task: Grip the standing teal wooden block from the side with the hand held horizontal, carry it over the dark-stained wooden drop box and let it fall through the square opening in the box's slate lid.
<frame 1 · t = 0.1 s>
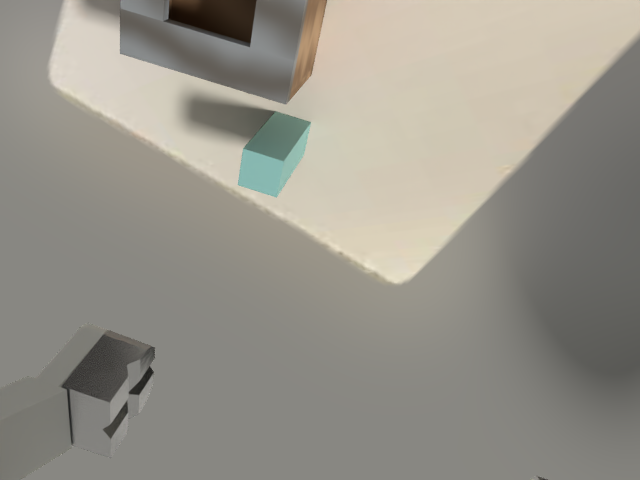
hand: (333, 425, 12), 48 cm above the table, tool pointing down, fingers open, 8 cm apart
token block: (289, 133, 62), on the table
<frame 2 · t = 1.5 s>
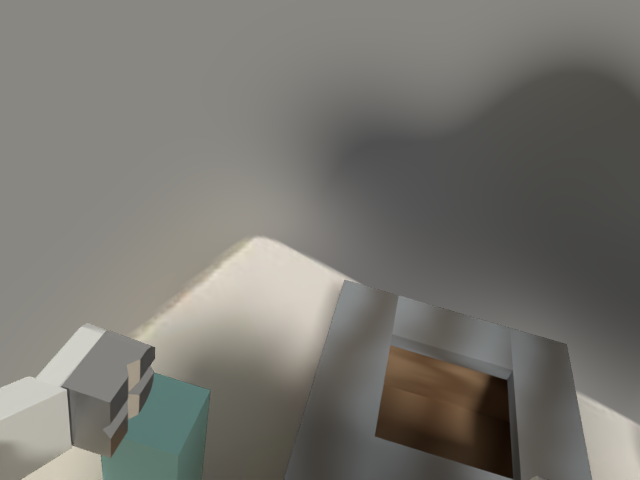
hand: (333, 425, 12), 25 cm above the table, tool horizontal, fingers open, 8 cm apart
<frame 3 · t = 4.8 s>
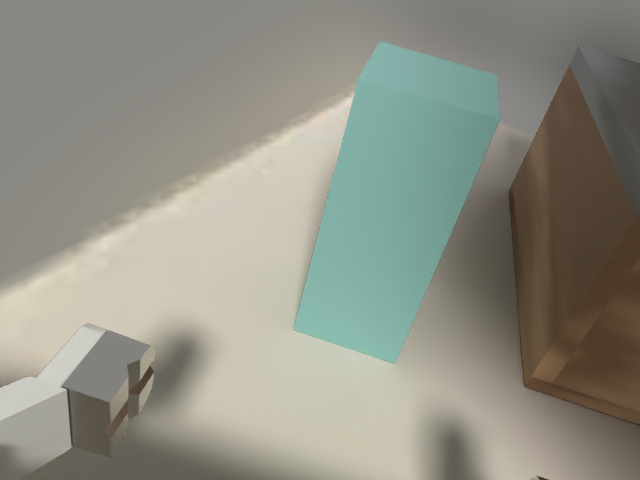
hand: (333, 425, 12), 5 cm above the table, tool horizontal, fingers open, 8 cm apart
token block: (353, 312, 23), on the table
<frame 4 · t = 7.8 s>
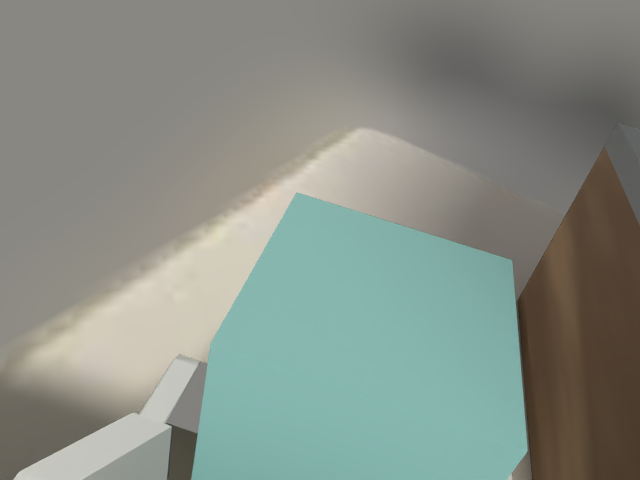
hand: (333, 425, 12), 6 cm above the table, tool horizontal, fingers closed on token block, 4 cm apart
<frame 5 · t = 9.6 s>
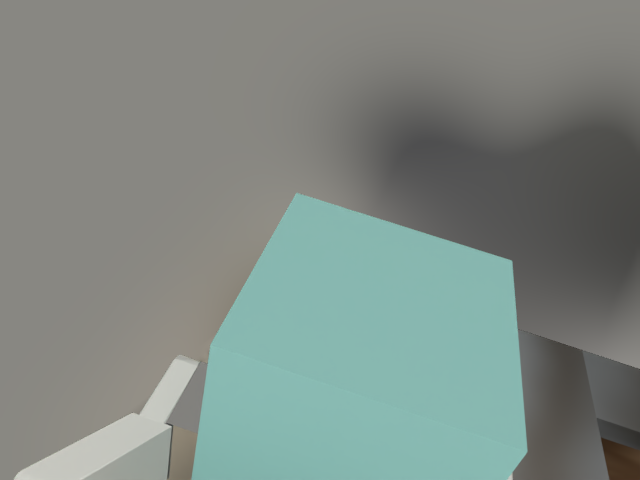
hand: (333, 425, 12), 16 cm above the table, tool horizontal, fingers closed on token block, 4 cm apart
when the fingers open (16 cm above the table, at t = 11.8 s): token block drops 9 cm, resting on drop box.
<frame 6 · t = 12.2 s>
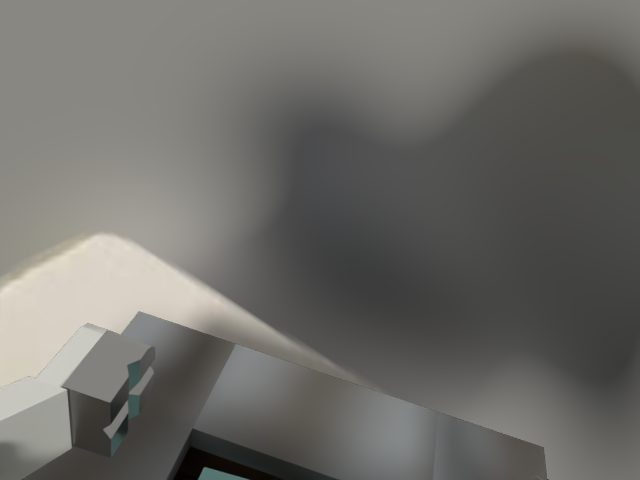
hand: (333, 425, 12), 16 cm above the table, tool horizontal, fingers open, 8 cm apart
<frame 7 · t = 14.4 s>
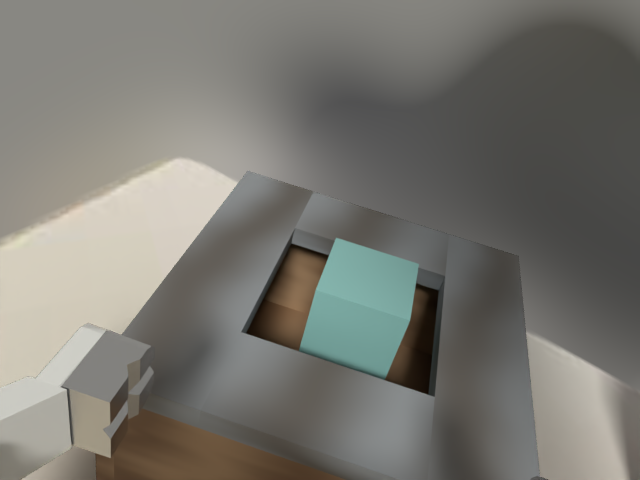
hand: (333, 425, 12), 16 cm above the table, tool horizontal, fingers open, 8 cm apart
drop box: (314, 420, 31), on the table
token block: (321, 416, 30), point 1 cm above the table, touching drop box
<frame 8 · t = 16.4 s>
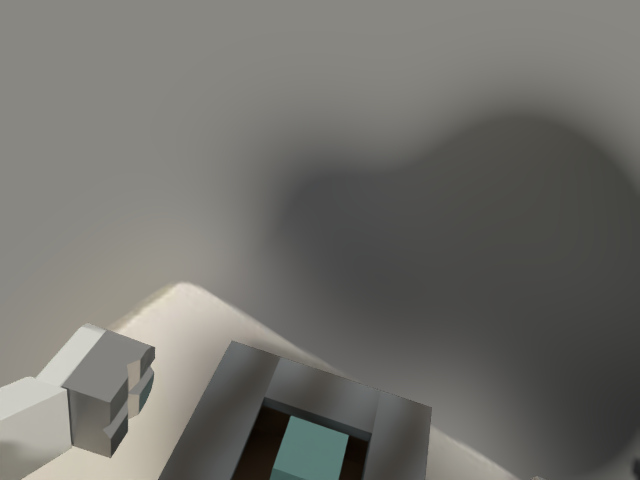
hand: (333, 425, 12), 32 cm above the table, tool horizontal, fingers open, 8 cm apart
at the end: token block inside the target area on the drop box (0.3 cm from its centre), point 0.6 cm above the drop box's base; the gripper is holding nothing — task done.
